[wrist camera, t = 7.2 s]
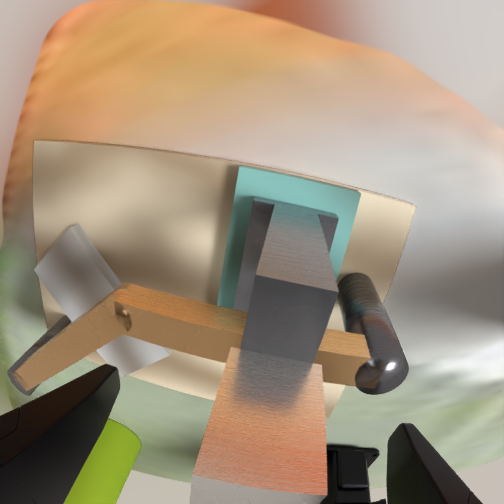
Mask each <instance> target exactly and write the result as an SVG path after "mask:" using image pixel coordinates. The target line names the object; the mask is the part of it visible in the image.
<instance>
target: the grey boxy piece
mask: <svg viewBox="0 0 504 504" xmlns="http://www.w3.org/2000/svg"><path fill="white" fill-rule="evenodd" d="M338 220H339V218H338V216H337V214H336V213H332V212H327V211H323V210H319V209H314V208H310V207H305V206H301V205H296V204H292V203H287V202H282V201H278V200H273V199H268V198H263V197H258V196H255V198H254V199H253V203H252V209H251V214H250V220H249V225H248V231H247V236H246V241H245V247H244V252H243V258H242V264H241V269H240V275H239V280H238V286H237V291H236V297H235V302H234V308H233V309H235V310H239V311H244V312H248V314H247V319H246V324H245V328H244V333H243V338H242V343H241V348H240V349H238V348H234V347H231V349H230V352H229V355H228V359H227V362H226V365H225V369H224V372H223V375H222V379H221V382H220V385H219V388H218V392H217V395H216V398H215V402H214V405H213V408H212V411H211V415H210V418H209V421H208V425H207V428H206V431H205V434H204V438H203V441H202V444H201V447H200V451H199V454H198V457H197V460H196V464H195V467H194V470H193V473H192V482H191V495H190V504H319V503H320V502H321V501H322V500H323V499H324V498H325V497H326V496H327V451H326V425H325V405H324V389H323V374H322V365H320V364H314V363H313V362H314V360H315V357H316V354H317V352H318V349H319V347H320V344H321V341H322V339H323V336H324V333H325V330H326V328H327V325H328V322H329V319H330V316H331V314H332V311H333V308H334V305H335V302H336V299H337V296H338V293H339V291H338V287H337V283H336V279H335V275H334V271H333V267H332V263H331V260H330V256H329V253H330V250H331V246H332V242H333V239H334V235H335V231H336V228H337V224H338Z"/></svg>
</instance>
